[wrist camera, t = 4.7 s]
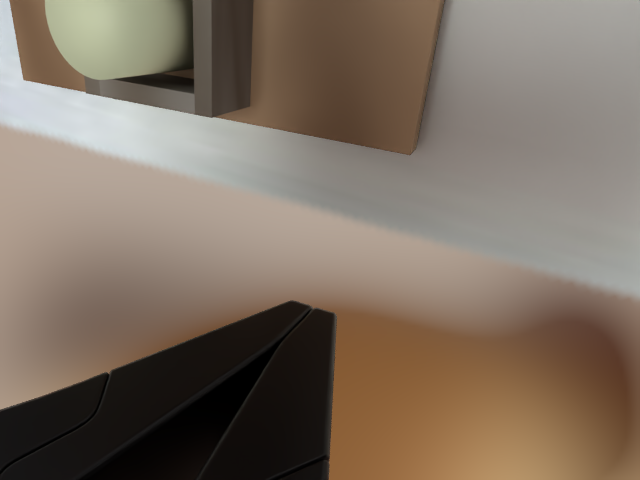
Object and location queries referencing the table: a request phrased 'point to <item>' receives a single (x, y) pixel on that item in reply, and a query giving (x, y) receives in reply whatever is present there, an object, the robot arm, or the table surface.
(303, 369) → the robot arm
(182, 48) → the sage button
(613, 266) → the table surface
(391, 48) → the button panel
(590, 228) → the table surface
